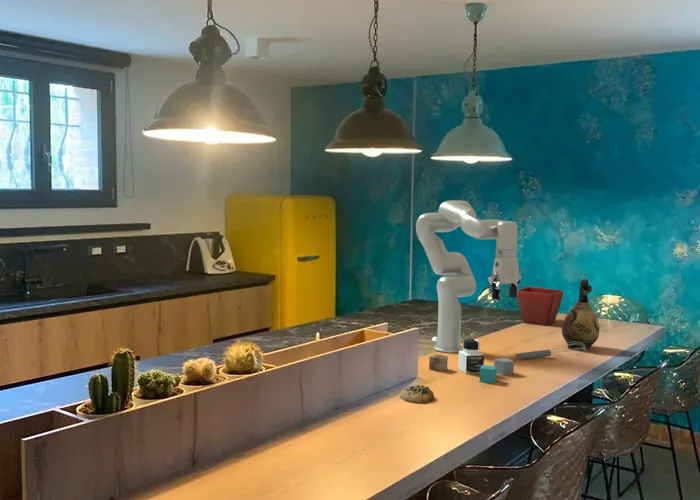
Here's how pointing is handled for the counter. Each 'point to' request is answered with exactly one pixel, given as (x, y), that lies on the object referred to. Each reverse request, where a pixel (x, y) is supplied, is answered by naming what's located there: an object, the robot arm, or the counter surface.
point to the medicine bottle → (470, 357)
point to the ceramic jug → (581, 322)
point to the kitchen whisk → (542, 353)
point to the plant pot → (539, 304)
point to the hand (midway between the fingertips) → (504, 298)
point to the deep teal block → (487, 374)
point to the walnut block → (438, 362)
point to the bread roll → (417, 394)
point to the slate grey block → (504, 366)
